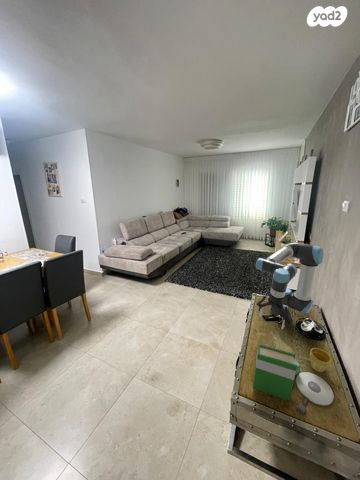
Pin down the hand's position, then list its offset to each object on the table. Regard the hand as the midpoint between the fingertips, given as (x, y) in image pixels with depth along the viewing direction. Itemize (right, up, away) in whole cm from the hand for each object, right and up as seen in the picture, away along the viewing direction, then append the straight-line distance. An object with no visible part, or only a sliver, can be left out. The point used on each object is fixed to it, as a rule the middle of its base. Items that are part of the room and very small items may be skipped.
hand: (271, 321), depth 120 cm
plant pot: (+28, -28, -1) cm, 39 cm away
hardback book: (-6, -32, -12) cm, 35 cm away
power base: (+14, -32, -15) cm, 38 cm away
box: (+7, -29, -2) cm, 30 cm away
